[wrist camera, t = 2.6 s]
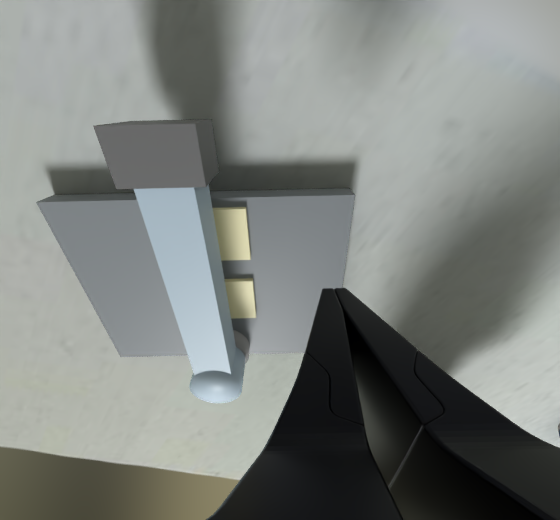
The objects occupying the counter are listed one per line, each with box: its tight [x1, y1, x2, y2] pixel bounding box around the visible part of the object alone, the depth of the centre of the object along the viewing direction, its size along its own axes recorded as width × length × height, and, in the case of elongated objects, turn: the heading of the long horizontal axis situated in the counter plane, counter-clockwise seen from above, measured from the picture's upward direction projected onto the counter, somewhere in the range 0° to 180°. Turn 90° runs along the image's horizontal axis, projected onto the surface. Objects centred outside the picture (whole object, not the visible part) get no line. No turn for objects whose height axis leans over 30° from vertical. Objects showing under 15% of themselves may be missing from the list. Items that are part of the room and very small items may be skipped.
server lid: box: [36, 188, 355, 363], centre depth 16 cm, size 16×13×2 cm
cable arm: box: [94, 119, 245, 403], centre depth 13 cm, size 16×3×2 cm, turn 1°
